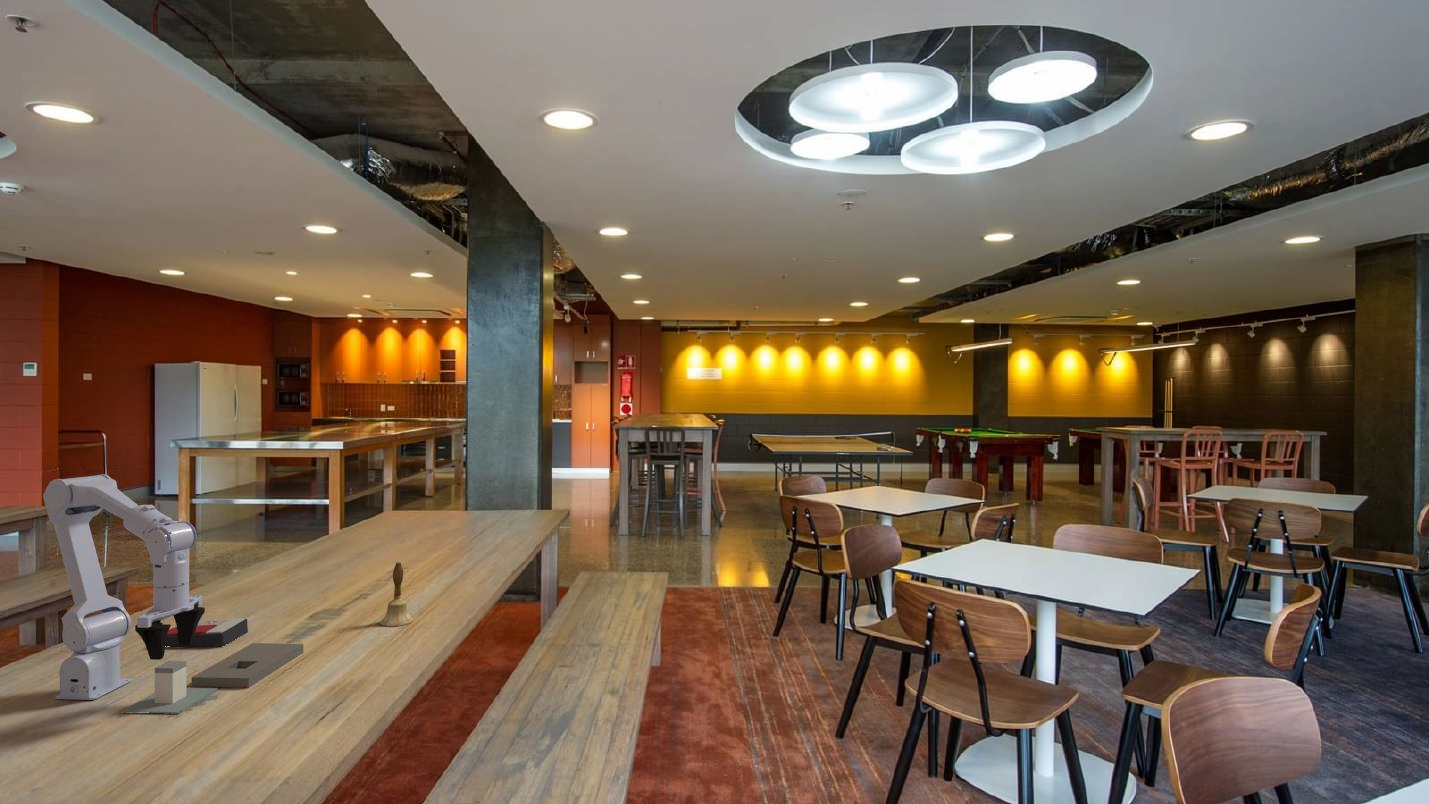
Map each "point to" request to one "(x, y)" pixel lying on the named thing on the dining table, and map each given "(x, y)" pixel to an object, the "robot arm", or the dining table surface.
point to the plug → (170, 682)
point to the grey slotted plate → (247, 665)
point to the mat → (150, 706)
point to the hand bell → (397, 603)
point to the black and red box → (211, 633)
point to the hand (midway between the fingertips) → (171, 651)
